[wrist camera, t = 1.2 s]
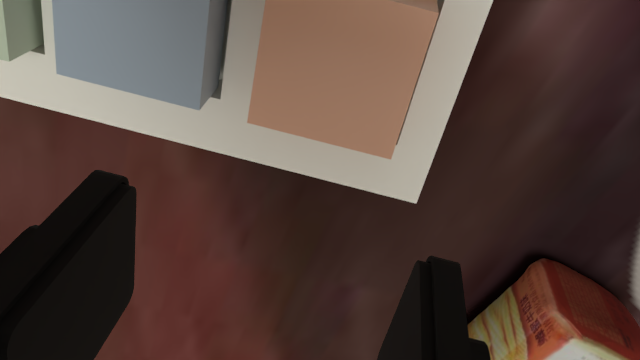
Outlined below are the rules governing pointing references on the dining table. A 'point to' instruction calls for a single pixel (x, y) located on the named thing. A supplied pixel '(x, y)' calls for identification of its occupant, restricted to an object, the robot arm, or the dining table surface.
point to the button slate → (143, 46)
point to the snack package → (557, 319)
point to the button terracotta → (340, 69)
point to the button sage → (20, 27)
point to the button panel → (235, 94)
